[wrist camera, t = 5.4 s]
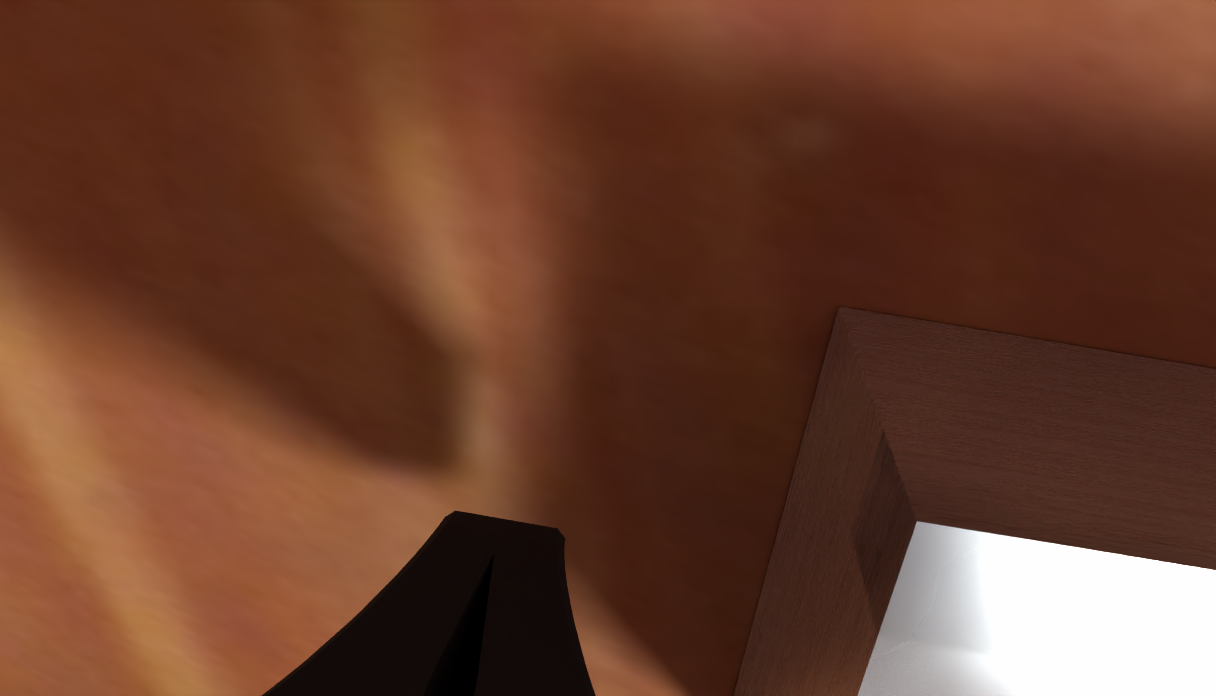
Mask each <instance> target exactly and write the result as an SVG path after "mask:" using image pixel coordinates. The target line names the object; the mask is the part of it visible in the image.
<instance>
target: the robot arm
mask: <svg viewBox="0 0 1216 696" xmlns="http://www.w3.org/2000/svg"><path fill="white" fill-rule="evenodd" d="M564 545H565V538H564V536H563V535H562V534H561V532H560V531H559V530H558V528H552V527H546V526H541V525H535V524H529V523H523V522H518V521H512V520H506V519H500V518H495V517H489V516H483V515H477V514H472V513H466V512H460V511H454V512H453V513H451V514H449V515H448V516H446V517H445V518H444V519H443V521H442V522H441V523H440V525H439V526H438V527H437V529H436V530H435V531H434V532H433V534H432V535H431V536H430V537H429V539H428V540H427V541H426V542H425V544H424V545H423V546H422V547H421V548H420V549H419V551H418V552H417V553H416V554H415V555H414V556H413V557H412V559H411V560H410V561H409V562H408V563H407V564H406V565H405V566H404V567H403V568H402V570H401V571H400V572H399V573H398V574H397V575H396V576H395V577H394V578H393V579H392V580H391V581H390V582H389V583H388V584H387V585H386V586H385V587H384V588H383V589H382V590H381V591H380V592H379V593H378V594H377V595H376V596H375V597H374V598H373V599H372V600H371V601H370V602H369V603H368V604H367V605H366V606H365V607H364V608H363V609H362V610H361V611H360V612H359V613H358V614H357V615H356V616H355V617H354V618H353V619H352V620H351V621H350V622H349V623H348V624H347V625H345V626H344V627H343V628H342V629H341V630H340V631H339V632H337V633H336V634H335V635H334V636H333V637H332V638H331V639H330V640H328V641H327V642H326V643H325V644H324V645H323V646H322V647H321V648H319V649H318V650H317V651H316V652H315V653H314V654H313V655H312V656H310V657H309V658H308V659H307V660H306V661H305V662H303V663H302V664H301V665H300V666H299V667H297V668H296V669H295V670H294V671H292V672H291V673H290V674H289V675H287V676H286V677H285V678H284V679H283V680H281V681H280V682H279V683H277V684H276V685H275V686H274V687H272V688H271V689H270V690H268V691H267V692H266V693H264V694H263V695H262V696H595V693H594V690H593V687H592V684H591V681H590V677H589V674H588V671H587V668H586V665H585V661H584V657H583V653H582V650H581V646H580V642H579V638H578V634H577V631H576V627H575V623H574V618H573V614H572V609H571V604H570V598H569V593H568V587H567V580H566V572H565V560H564Z"/></svg>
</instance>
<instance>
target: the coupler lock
mask: <svg viewBox="0 0 1216 696" xmlns="http://www.w3.org/2000/svg"><path fill="white" fill-rule="evenodd" d="M733 696H1216V369H1214V368H1208V367H1201V366H1195V365H1189V364H1183V363H1177V362H1171V361H1165V360H1159V359H1153V358H1147V357H1141V356H1135V355H1129V354H1123V353H1117V352H1111V351H1105V350H1099V349H1093V348H1087V347H1081V346H1075V345H1069V344H1063V343H1057V342H1051V341H1045V340H1039V339H1033V338H1027V337H1021V336H1015V335H1009V334H1003V333H997V332H991V331H985V330H979V329H973V328H967V327H961V326H955V325H949V324H943V323H937V322H931V321H925V320H919V319H913V318H907V317H901V316H895V315H889V314H883V313H877V312H871V311H865V310H859V309H853V308H847V307H841V306H839V307H838V310H837V314H836V318H835V322H834V325H833V329H832V333H831V336H830V340H829V344H828V347H827V351H826V355H825V358H824V362H823V366H822V370H821V373H820V377H819V381H818V384H817V388H816V392H815V395H814V399H813V403H812V406H811V410H810V414H809V418H808V421H807V425H806V429H805V432H804V436H803V440H802V443H801V447H800V451H799V454H798V458H797V462H796V466H795V469H794V473H793V477H792V480H791V484H790V488H789V491H788V495H787V499H786V502H785V506H784V510H783V514H782V517H781V521H780V525H779V528H778V532H777V536H776V539H775V543H774V547H773V551H772V554H771V558H770V562H769V565H768V569H767V573H766V576H765V580H764V584H763V587H762V591H761V595H760V599H759V602H758V606H757V610H756V613H755V617H754V621H753V624H752V628H751V632H750V635H749V639H748V643H747V647H746V650H745V654H744V658H743V661H742V665H741V669H740V672H739V676H738V680H737V683H736V687H735V691H734V695H733Z"/></svg>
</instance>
